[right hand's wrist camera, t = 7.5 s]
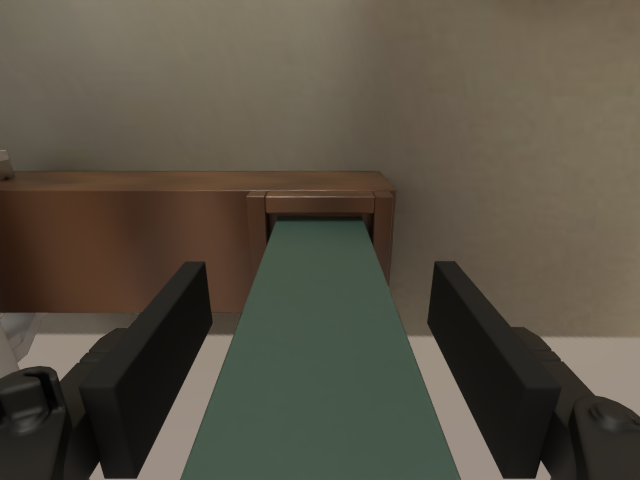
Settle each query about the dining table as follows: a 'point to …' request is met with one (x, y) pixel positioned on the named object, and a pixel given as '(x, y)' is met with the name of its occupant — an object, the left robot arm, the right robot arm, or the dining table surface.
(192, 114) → the dining table surface
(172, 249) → the walnut base
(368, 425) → the peg
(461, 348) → the right robot arm
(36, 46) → the dining table surface
